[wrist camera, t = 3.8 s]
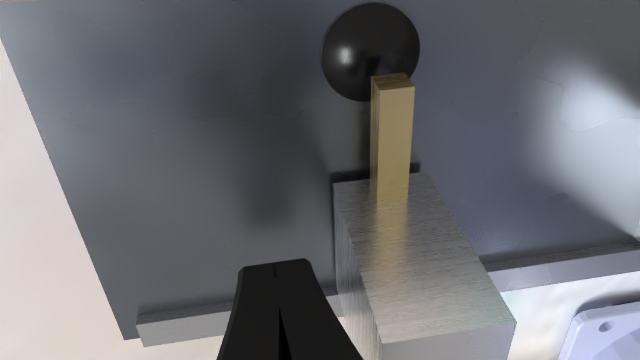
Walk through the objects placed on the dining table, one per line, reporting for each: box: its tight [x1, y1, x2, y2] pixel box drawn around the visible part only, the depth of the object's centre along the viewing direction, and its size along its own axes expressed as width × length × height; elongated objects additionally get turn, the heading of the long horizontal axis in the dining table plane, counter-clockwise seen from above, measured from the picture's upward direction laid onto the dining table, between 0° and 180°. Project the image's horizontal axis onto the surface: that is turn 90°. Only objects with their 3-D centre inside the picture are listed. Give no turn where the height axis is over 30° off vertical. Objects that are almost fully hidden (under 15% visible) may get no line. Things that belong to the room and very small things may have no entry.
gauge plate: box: [0, 0, 640, 347], centre depth 10 cm, size 16×8×5 cm, turn 92°
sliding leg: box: [333, 73, 517, 360], centre depth 9 cm, size 2×5×4 cm, turn 3°
